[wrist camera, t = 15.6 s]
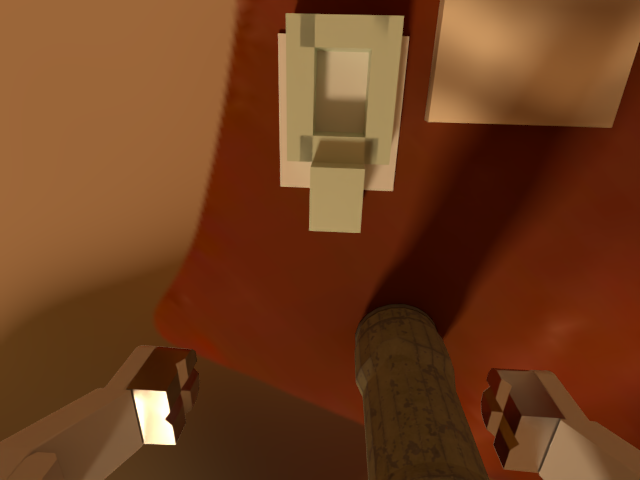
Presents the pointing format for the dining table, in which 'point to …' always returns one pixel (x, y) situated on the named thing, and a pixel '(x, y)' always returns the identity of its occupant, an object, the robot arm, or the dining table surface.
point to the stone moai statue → (411, 400)
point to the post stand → (532, 61)
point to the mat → (339, 110)
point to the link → (340, 147)
